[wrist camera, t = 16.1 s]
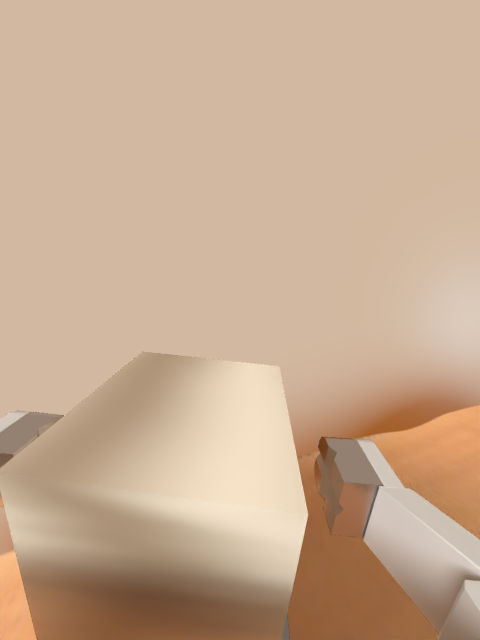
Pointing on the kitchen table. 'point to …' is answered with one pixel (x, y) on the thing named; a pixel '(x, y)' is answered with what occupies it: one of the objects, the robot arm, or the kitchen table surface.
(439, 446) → the kitchen table surface
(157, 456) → the cream pillar block
